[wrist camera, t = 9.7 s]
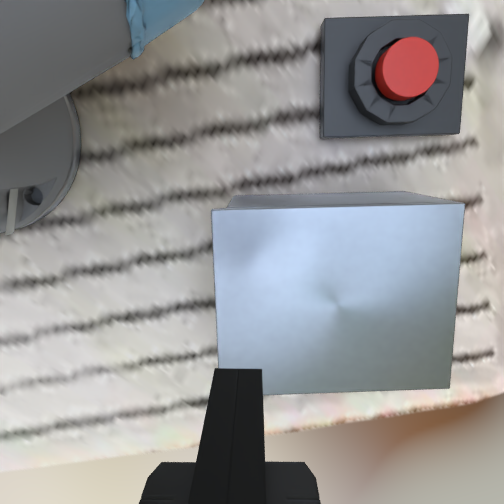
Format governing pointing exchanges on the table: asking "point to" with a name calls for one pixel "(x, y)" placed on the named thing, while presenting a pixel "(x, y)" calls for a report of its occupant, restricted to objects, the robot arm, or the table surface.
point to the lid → (338, 295)
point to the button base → (364, 85)
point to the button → (407, 69)
